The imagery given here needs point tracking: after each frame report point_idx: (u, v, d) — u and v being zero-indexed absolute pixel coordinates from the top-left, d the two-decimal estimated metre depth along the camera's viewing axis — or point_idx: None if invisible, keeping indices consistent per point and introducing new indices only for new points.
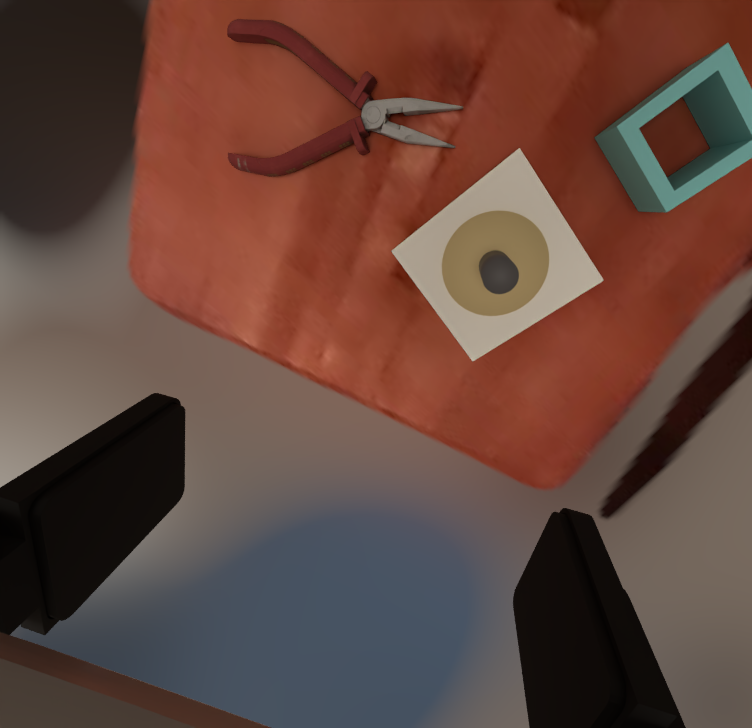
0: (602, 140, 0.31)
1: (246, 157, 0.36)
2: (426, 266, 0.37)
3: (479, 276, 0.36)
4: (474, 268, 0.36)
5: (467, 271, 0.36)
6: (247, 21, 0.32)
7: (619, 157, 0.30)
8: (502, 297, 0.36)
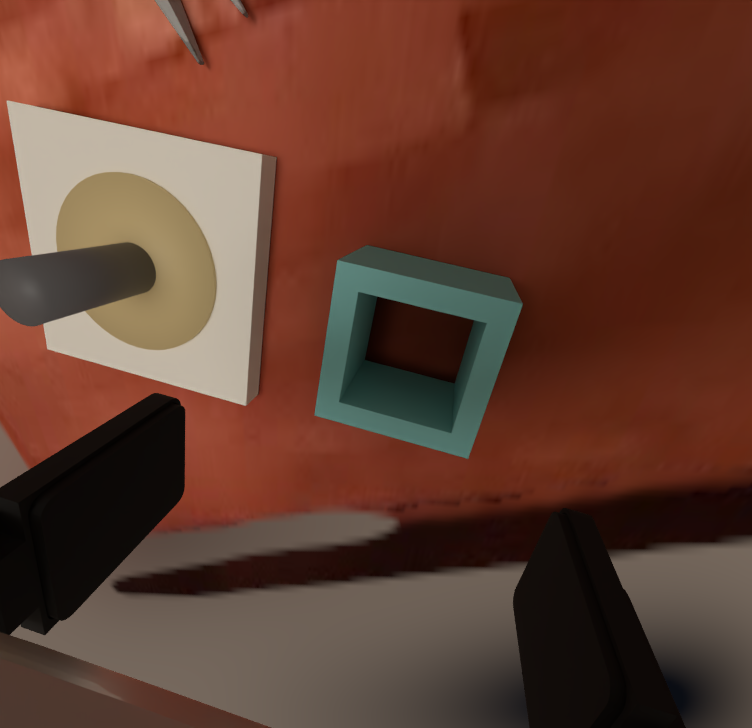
0: None
1: None
2: (48, 177, 0.20)
3: None
4: None
5: (95, 240, 0.21)
6: None
7: None
8: (121, 315, 0.22)
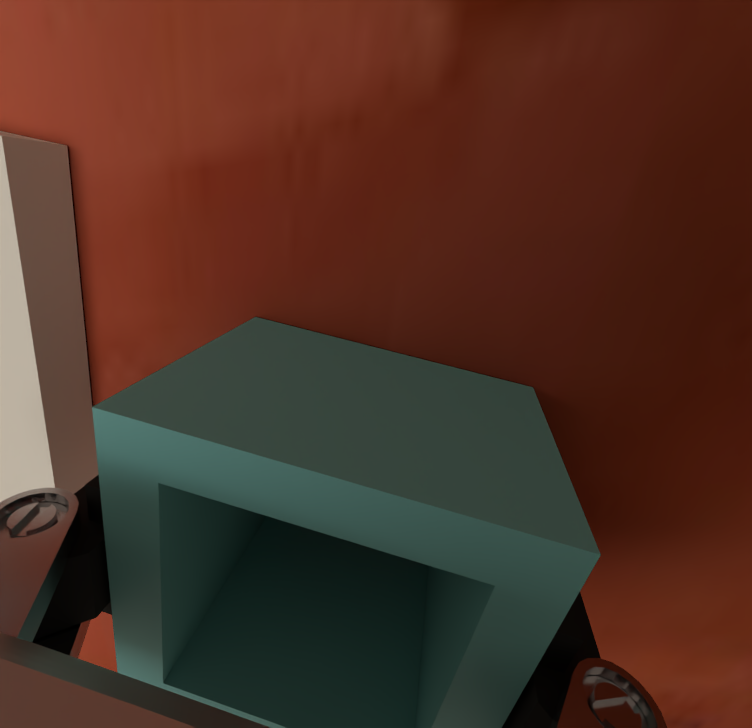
0: None
1: None
2: None
3: None
4: None
5: None
6: None
7: None
8: None
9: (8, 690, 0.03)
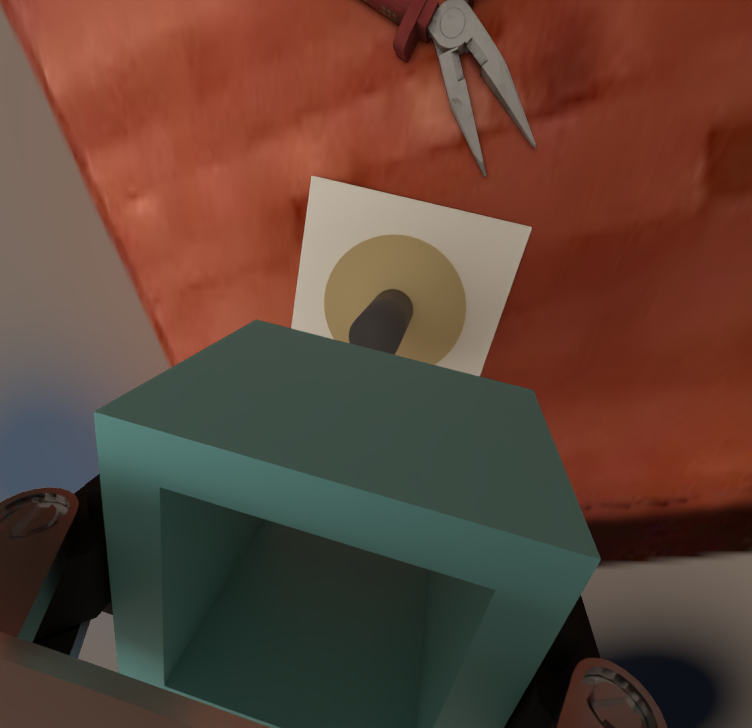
0: None
1: None
2: (331, 235, 0.25)
3: (369, 304, 0.26)
4: (372, 291, 0.25)
5: (363, 286, 0.25)
6: None
7: None
8: None
9: (8, 690, 0.03)
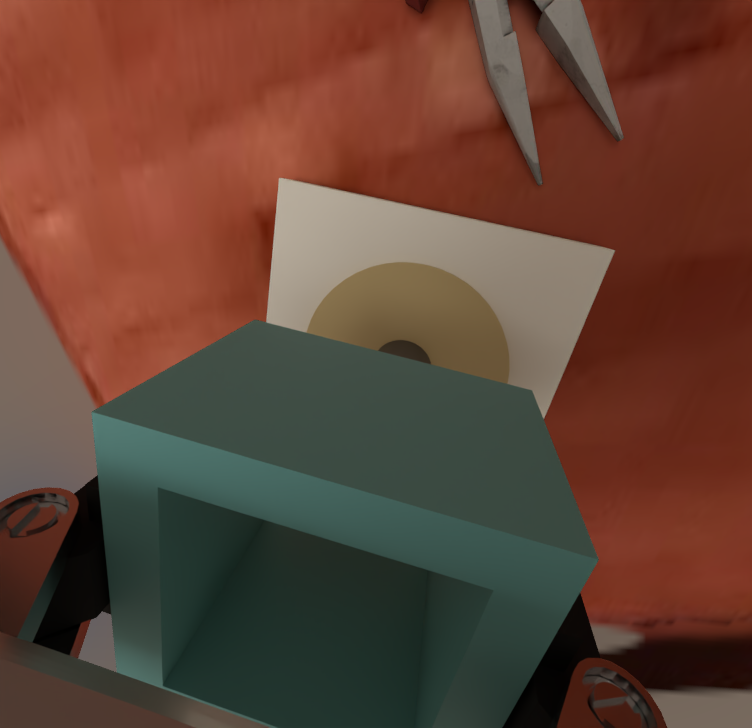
0: None
1: None
2: (311, 264, 0.17)
3: None
4: (373, 343, 0.18)
5: (359, 336, 0.18)
6: None
7: None
8: None
9: (8, 690, 0.03)
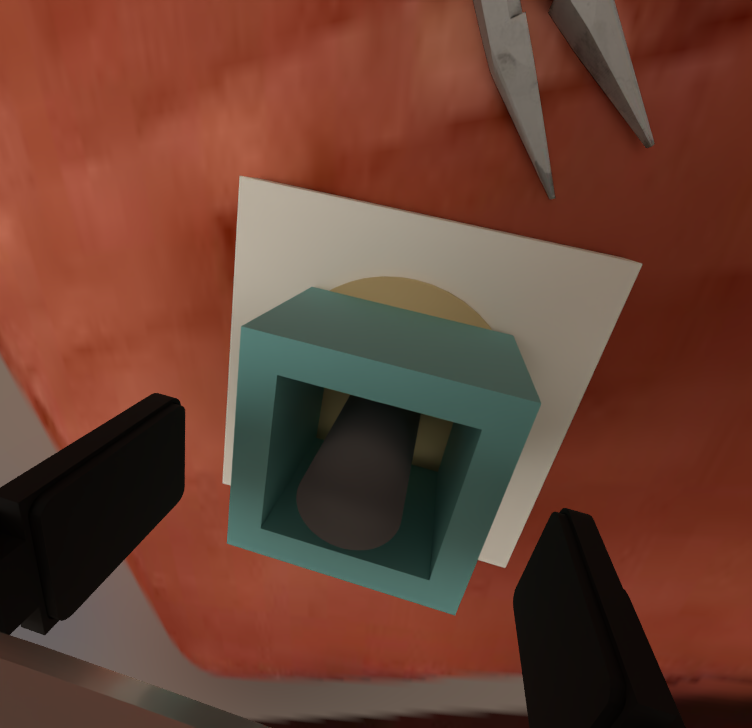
0: None
1: None
2: (280, 278, 0.14)
3: None
4: None
5: None
6: None
7: None
8: None
9: (8, 690, 0.03)
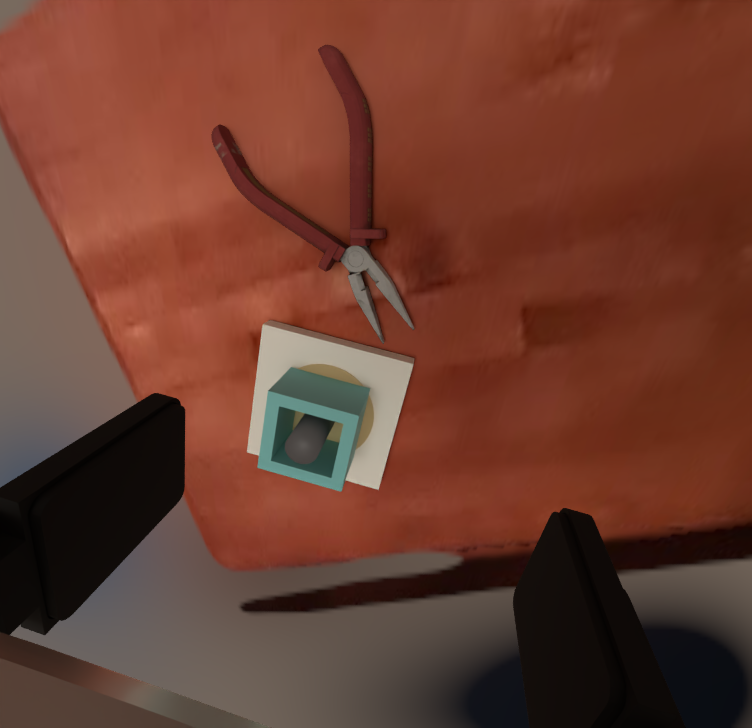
0: None
1: (228, 153, 0.29)
2: (278, 362, 0.35)
3: None
4: None
5: None
6: (343, 68, 0.27)
7: None
8: None
9: (8, 690, 0.03)
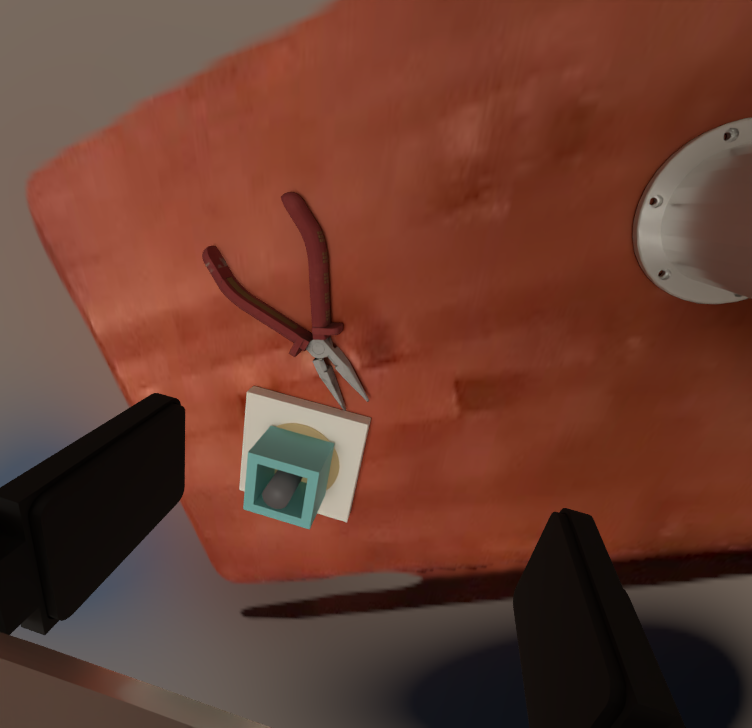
0: None
1: (215, 269, 0.37)
2: (260, 421, 0.43)
3: None
4: None
5: None
6: (300, 211, 0.34)
7: None
8: None
9: (8, 690, 0.03)
